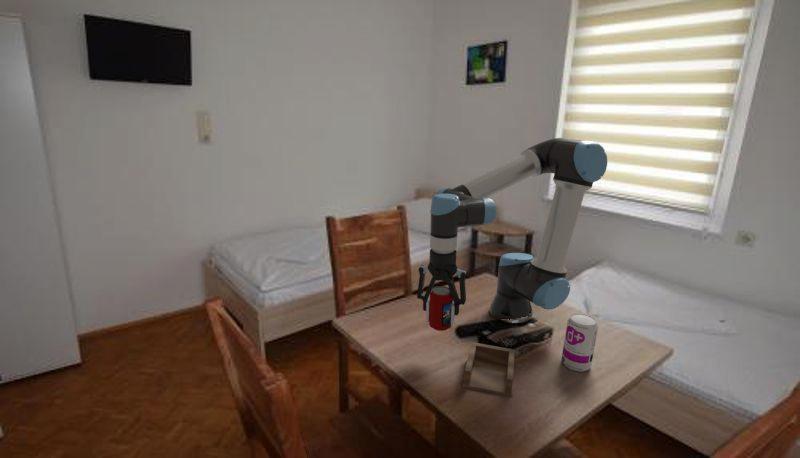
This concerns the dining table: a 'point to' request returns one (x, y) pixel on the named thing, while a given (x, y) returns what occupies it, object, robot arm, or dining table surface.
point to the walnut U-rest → (490, 369)
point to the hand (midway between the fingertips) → (440, 321)
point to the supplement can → (579, 342)
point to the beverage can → (440, 308)
